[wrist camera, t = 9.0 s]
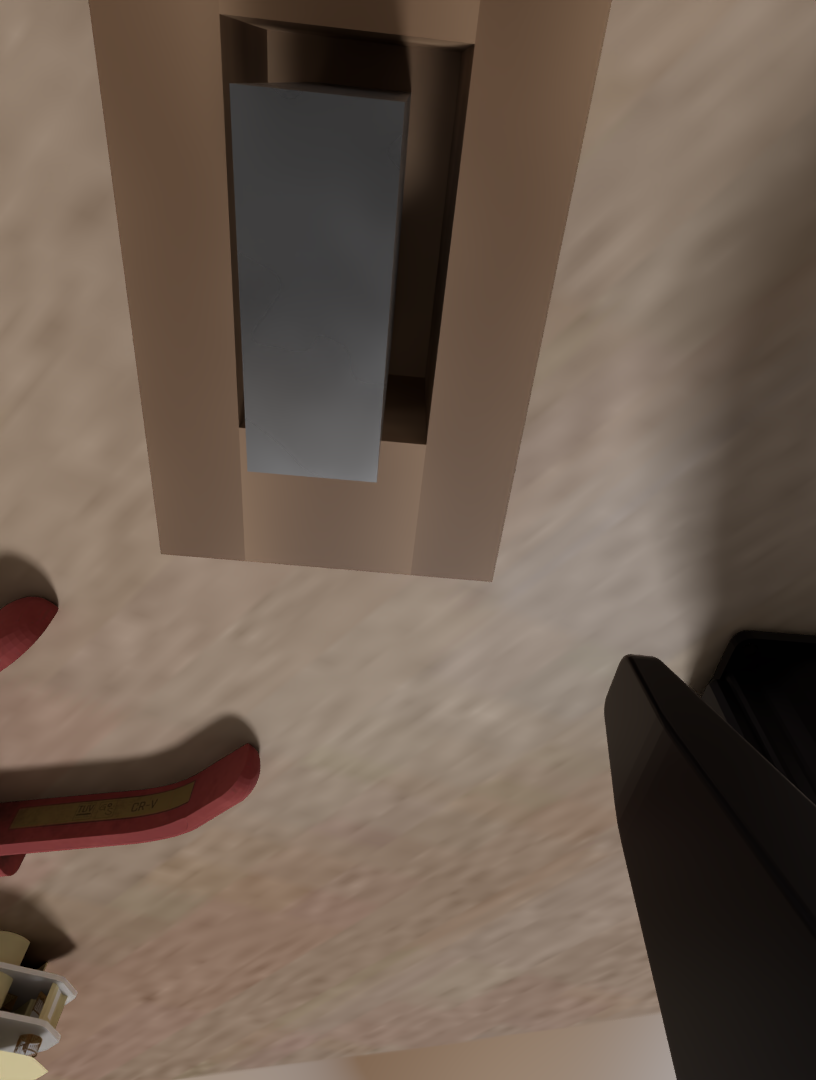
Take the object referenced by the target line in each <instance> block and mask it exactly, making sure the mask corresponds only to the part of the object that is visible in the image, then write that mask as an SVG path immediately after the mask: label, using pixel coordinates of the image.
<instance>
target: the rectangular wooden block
mask: <svg viewBox="0 0 816 1080" xmlns="http://www.w3.org/2000/svg"><path fill="white" fill-rule="evenodd" d="M611 2H612V0H89V7H90V15H91V22H92V30H93V37H94V45H95V53H96V60H97V68H98V76H99V83H100V91H101V98H102V106H103V114H104V121H105V129H106V137H107V144H108V152H109V159H110V167H111V175H112V182H113V190H114V198H115V205H116V213H117V220H118V228H119V236H120V243H121V251H122V259H123V266H124V274H125V281H126V289H127V297H128V304H129V312H130V320H131V327H132V335H133V343H134V350H135V358H136V365H137V373H138V381H139V388H140V396H141V404H142V411H143V419H144V426H145V434H146V442H147V449H148V457H149V465H150V472H151V480H152V487H153V495H154V503H155V510H156V518H157V526H158V533H159V541H160V548H161V554H168V555H180V556H192V557H203V558H215V559H227V560H239V561H251V562H263V563H275V564H286V565H298V566H310V567H322V568H334V569H346V570H357V571H369V572H381V573H393V574H405V575H417V576H429V577H440V578H452V579H464V580H476V581H488V582H492V580H493V575H494V570H495V565H496V560H497V556H498V551H499V546H500V541H501V536H502V531H503V526H504V522H505V517H506V512H507V507H508V502H509V497H510V493H511V488H512V483H513V478H514V473H515V468H516V463H517V459H518V454H519V449H520V444H521V439H522V434H523V429H524V425H525V420H526V415H527V410H528V405H529V400H530V395H531V391H532V386H533V381H534V376H535V371H536V366H537V361H538V357H539V352H540V347H541V342H542V337H543V332H544V327H545V323H546V318H547V313H548V308H549V303H550V298H551V293H552V289H553V284H554V279H555V274H556V269H557V264H558V259H559V255H560V250H561V245H562V240H563V235H564V230H565V226H566V221H567V216H568V211H569V206H570V201H571V196H572V192H573V187H574V182H575V177H576V172H577V167H578V162H579V158H580V153H581V148H582V143H583V138H584V133H585V128H586V124H587V119H588V114H589V109H590V104H591V99H592V94H593V90H594V85H595V80H596V75H597V70H598V65H599V60H600V56H601V51H602V46H603V41H604V36H605V31H606V26H607V22H608V17H609V12H610V7H611ZM286 82H321V83H330V84H339V85H349V86H358V87H367V88H376V89H386V90H395V91H404V92H412V93H411V106H410V119H409V131H408V144H407V157H406V170H405V183H404V196H403V208H402V221H401V234H400V247H399V260H398V273H397V285H396V298H395V311H394V324H393V334H392V344H391V353H390V363H389V372H388V381H387V391H386V400H385V410H384V419H383V428H382V438H381V447H380V457H379V466H378V475H377V483H376V482H364V481H353V480H341V479H329V478H318V477H306V476H294V475H283V474H271V473H260V472H248V471H247V451H246V430H245V408H244V387H243V365H242V344H241V322H240V301H239V279H238V258H237V236H236V215H235V193H234V172H233V150H232V129H231V107H230V86H229V83H286Z"/></svg>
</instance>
